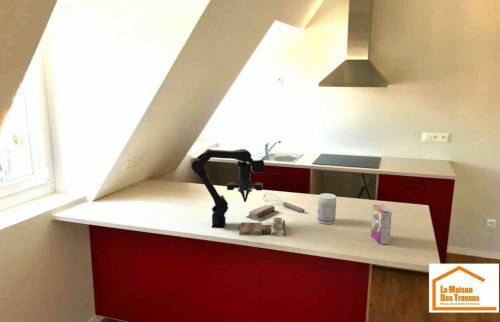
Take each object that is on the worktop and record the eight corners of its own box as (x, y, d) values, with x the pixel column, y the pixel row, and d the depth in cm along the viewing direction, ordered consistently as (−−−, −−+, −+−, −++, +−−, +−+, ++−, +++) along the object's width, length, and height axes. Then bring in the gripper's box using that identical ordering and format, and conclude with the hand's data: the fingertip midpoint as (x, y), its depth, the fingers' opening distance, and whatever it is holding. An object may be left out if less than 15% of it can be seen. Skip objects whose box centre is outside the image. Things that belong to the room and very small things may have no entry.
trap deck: (239, 235, 186) (239, 228, 185) (241, 225, 198) (240, 219, 197) (285, 235, 185) (285, 229, 184) (284, 226, 196) (284, 220, 196)
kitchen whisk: (303, 215, 213) (303, 205, 212) (260, 202, 237) (260, 192, 235) (309, 213, 217) (309, 202, 216) (267, 200, 241) (267, 190, 239)
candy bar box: (369, 235, 185) (372, 203, 181) (379, 235, 185) (382, 203, 182) (379, 245, 174) (381, 211, 171) (389, 244, 174) (392, 211, 171)
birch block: (273, 228, 188) (273, 220, 187) (273, 225, 192) (273, 217, 192) (282, 229, 188) (282, 220, 187) (281, 225, 192) (282, 217, 191)
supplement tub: (316, 218, 208) (317, 193, 205) (333, 218, 208) (334, 193, 205) (319, 224, 198) (320, 198, 195) (337, 224, 198) (338, 198, 195)
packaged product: (259, 214, 202) (245, 210, 209) (259, 222, 203) (245, 218, 210) (279, 205, 216) (265, 202, 222) (278, 213, 217) (265, 209, 223)
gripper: (225, 177, 188) (226, 206, 191) (262, 177, 187) (262, 207, 191) (227, 171, 199) (228, 199, 202) (262, 172, 198) (262, 200, 201)
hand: (245, 201), depth 199 cm, fingers closed
